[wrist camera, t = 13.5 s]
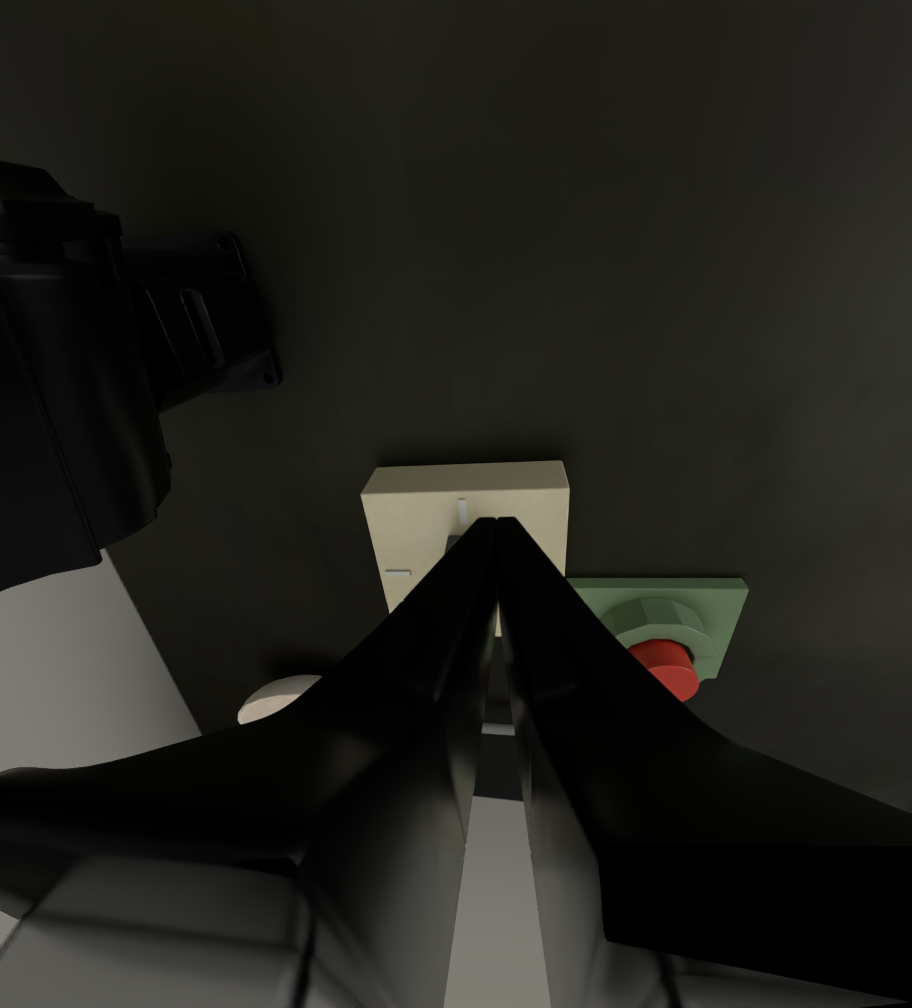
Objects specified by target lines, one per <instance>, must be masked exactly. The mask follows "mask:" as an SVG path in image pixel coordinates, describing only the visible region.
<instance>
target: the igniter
mask: <svg viewBox="0 0 912 1008" xmlns="http://www.w3.org/2000/svg"><path fill="white" fill-rule="evenodd" d="M566 579H567V581H568V582H569V583H570V584H571V586H572V587H573V588H574V589H575V591H576V592H577V593H578V594H579V595H580V597H581V598H582V599H583V600H584V603H586V604H587V605H588V606H589V608H590V609H591V610H592V611H593V613H594V614H595V615H596V616H597V617H598V619H599V620H600V621H601V622H602V623H603V624H604V625H605V627H606V628H607V629H608V630H609V631H610V632H611V633H612V634H613V635H614V637H615V638H616V639H617V640H618V641H619V642H620V643H621V644H622V645H623V646H624V647H625V648H626V649H628V648H629V647H630V646H631V645H634V644H637V643H640V642H643V641H646V640H649V639H671V640H674V641H676V642H678V643H679V644H680V645H682V646H683V647H684V649H685V650H686V653H687V655H688V657H689V659H690V661H691V664H692V666H693V668H694V670H695V672H696V675H697V677H698V679H699V683H700V682H701V681H702V680H704V679H705V678H716V676H717V674H718V671H719V668H720V666H721V663H722V660H723V658H724V655H725V652H726V650H727V647H728V644H729V642H730V639H731V636H732V634H733V631H734V628H735V626H736V623H737V620H738V618H739V615H740V612H741V610H742V607H743V604H744V602H745V599H746V596H747V594H748V591H749V588H748V587H747V586H746V584H745V583H744V582H743V580H742V579H741V578H566Z"/></svg>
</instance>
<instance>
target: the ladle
mask: <svg viewBox="0 0 912 1008" xmlns="http://www.w3.org/2000/svg"><path fill="white" fill-rule="evenodd" d="M321 677H322V676H319V675H296V676H291V677H287V678H283V679H280V680H276V681H274V682H271V683H269V684H267V685H265V686H263V687H262V688H261V689H259V690H258V691H256V692H255V693H254V694H252V695H251V696H250V697H249V698H248V699H247V700H246V702H245V703H244V705H243V706H242V708H241V709H240V711H239V713H238V721H239V722H240V724H245V723H248V722H252V721H255V720H258V719H261V718H264V717H266V716H268V715H271V714H273V713H275V712H277V711H278V710H280V709H282V708H284V707H285V706H287V705H288V704H290V703H291V702H292V701H294V700H295V699H296V698H298V697H299V696H300V695H301V694H303V693H304V692H305V691H306V690H307V689H308V688H309V687H311V686H312V685H313V684H314V683H315V682H316V681H317V680H319V679H320V678H321ZM482 733H488V734H500V735H515V733H514V725H513V724H495V723H483V726H482Z"/></svg>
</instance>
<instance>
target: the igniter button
mask: <svg viewBox="0 0 912 1008" xmlns="http://www.w3.org/2000/svg"><path fill="white" fill-rule="evenodd" d="M627 650H628V651H629V652H630V653H631V654H632V655H633V656H634V657H635V658H636V659H637V660H638V661H640V662H641V663H642V664H643V665H644V666H645V667H646V668H647V669H648V670H649V671H650V672H651V673H652V674H653V675H654V676H655V677H656V678H657V679H658V680H659V681H660V682H661V683H662V684H663V685H664V686H666V687H667V688H668V689H669V690H670V691H671V692H672V693H673V694H674V695H675V696H676V697H677V698H678V699H679V700H680V701H681V702H683V701H685V700H687V699H689V698H690V697H692V696H693V695H694V694H695V693H696V691H697V690H698V687H699V679H698V677H697V675H696V672H695V670H694V668H693V666H692V664H691V661H690V659H689V657H688V655H687V653H686V650H685V649H684V647H683V646H682V645H680V644H679V643H678V642H676V641H674V640H671V639H649V640H646V641H643V642H640V643H637V644H634V645H631V646H630V647H629V648H628V649H627Z"/></svg>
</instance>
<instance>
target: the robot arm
mask: <svg viewBox="0 0 912 1008" xmlns="http://www.w3.org/2000/svg"><path fill="white" fill-rule="evenodd" d="M119 236H123V233H122V228H121V224H120V219H119V215H118V214H114V213H109V212H105V211H100V210H96V209H95V207H94V203H90V202H86V201H82V200H78V199H74V197H73V196H69V195H68V194H67V193H66V192H65V191H64V190H63V189H62V188H61V187H60V185H59V184H58V183H57V182H56V181H55V180H54V179H53V178H52V177H51V175H50V174H49V173H48V172H47V171H46V170H44V169H40V168H35V167H31V166H26V165H21V164H16V163H10V162H5V161H0V591H3V590H5V589H8V588H10V587H13V586H16V585H20V584H23V583H26V582H29V581H32V580H35V579H39V578H42V577H45V576H48V575H51V574H56V573H61V572H66V571H71V570H76V569H81V568H86V567H91V566H95V565H98V564H99V563H101V562H102V556H101V554H100V551H99V550H101V549H103V548H105V547H107V546H109V545H111V544H113V543H115V542H117V541H119V540H122V539H124V538H126V537H128V536H130V535H133V534H135V533H136V532H138V531H139V530H141V529H142V528H143V527H145V526H146V525H148V524H149V523H151V522H152V521H153V520H155V519H156V517H157V511H156V508H157V507H158V506H159V505H160V504H161V503H162V501H163V500H164V498H165V497H166V496H167V494H168V493H169V491H170V490H171V474H170V469H171V468H172V463H171V458H170V454H169V453H166V449H165V444H164V440H163V435H162V430H161V426H160V421H159V417H158V414H160V413H162V412H164V411H166V410H169V409H171V408H173V407H175V406H177V405H179V404H181V403H184V402H186V401H188V400H190V399H192V398H194V397H196V396H199V395H201V394H203V393H212V392H227V391H242V390H257V389H271V388H275V387H276V386H278V385H279V384H280V383H281V380H282V378H281V373H280V370H279V367H278V363H277V360H276V357H275V354H274V350H273V347H272V346H273V344H274V342H273V338H272V335H271V332H270V329H269V325H268V322H267V319H266V315H265V312H264V309H263V306H262V302H261V299H260V296H259V293H258V289H257V286H256V285H255V284H254V283H253V282H252V279H251V276H250V272H249V269H248V266H247V263H246V259H245V256H244V253H243V250H242V246H241V243H240V241H239V239H238V238H237V236H236V235H235V234H233V233H232V232H230V231H222V230H218V231H211V232H203V233H195V234H187V235H179V236H171V237H163V238H155V239H148V240H140V241H132V242H124V243H121V242H120V237H119ZM225 239H227V240H228V241H229V243H230V250H229V251H228V250H227V249H226V248H225V246H224V240H225ZM267 373H269V374H270V375H271V376H272V377H273V381H270V380H269V379H268V377H267ZM498 607H499V620H500V628H501V636H502V643H503V651H504V658H505V666H506V673H507V681H508V688H509V696H510V703H511V710H512V718H513V725H514V733H515V740H516V748H517V755H518V763H519V770H520V778H521V785H522V793H523V800H524V807H525V815H526V823H527V830H528V838H529V845H530V850H531V859H532V867H533V875H534V883H535V890H536V898H537V905H538V912H539V920H540V928H541V935H542V943H543V950H544V958H545V965H546V972H547V980H548V987H549V994H550V1002H551V1008H912V814H911V813H908V812H906V811H903V810H900V809H898V808H895V807H893V806H890V805H888V804H885V803H883V802H880V801H878V800H876V799H873V798H871V797H868V796H866V795H863V794H861V793H858V792H856V791H853V790H851V789H848V788H846V787H843V786H841V785H838V784H836V783H833V782H831V781H829V780H826V779H824V778H821V777H819V776H816V775H814V774H811V773H809V772H806V771H804V770H801V769H799V768H796V767H794V766H791V765H789V764H786V763H784V762H782V761H779V760H777V759H774V758H772V757H769V756H767V755H764V754H762V753H759V752H757V751H754V750H752V749H749V748H747V747H744V746H742V745H740V744H738V743H735V742H733V741H731V740H730V739H728V738H726V737H724V736H723V735H721V734H720V733H718V732H717V731H715V730H714V729H712V728H711V727H710V726H708V725H707V724H706V723H705V722H703V721H702V720H701V719H699V718H698V717H697V716H696V715H695V714H694V713H693V712H692V711H691V710H689V709H688V708H687V707H686V706H685V705H684V704H683V703H682V702H681V701H680V700H679V699H678V698H677V697H676V696H675V695H674V694H673V693H672V692H671V691H670V690H669V689H668V688H667V687H666V686H664V685H663V684H662V683H661V682H660V681H659V680H658V679H657V678H656V677H655V676H654V675H653V674H652V673H651V672H650V671H649V670H648V669H647V668H646V667H645V666H644V665H643V664H642V663H641V662H640V661H638V660H637V659H636V658H635V657H634V656H633V655H632V654H631V653H630V652H629V651H628V650H627V649H626V648H625V647H624V646H623V645H622V644H621V643H620V642H619V641H618V640H617V639H616V638H615V637H614V635H613V634H612V633H611V632H610V631H609V630H608V629H607V628H606V627H605V625H604V624H603V623H602V622H601V621H600V620H599V619H598V617H597V616H596V615H595V614H594V613H593V611H592V610H591V609H590V608H589V606H588V605H587V604H586V603H584V600H583V599H582V598H581V597H580V595H579V594H578V593H577V592H576V591H575V589H574V588H573V587H572V586H571V584H570V583H569V582H568V581H567V579H566V578H565V577H564V576H563V575H562V573H561V572H560V571H559V570H558V568H557V567H556V566H555V565H554V564H553V562H552V561H551V560H550V559H549V557H548V556H547V555H546V554H545V552H544V551H543V550H542V549H541V548H540V546H539V545H538V544H537V543H536V541H535V540H534V539H533V538H532V536H531V535H530V534H529V533H528V532H527V530H526V529H525V528H524V527H523V525H522V524H521V523H520V522H519V521H518V519H517V518H516V517H514V516H510V517H498V518H497V519H496V518H495V517H479V518H477V519H476V520H475V521H474V523H473V524H472V525H471V526H470V527H469V528H468V529H467V530H466V531H465V532H464V534H463V535H462V536H461V537H460V538H459V539H458V540H457V541H456V542H455V543H454V544H453V546H452V547H451V548H450V549H449V550H448V551H447V552H446V553H445V554H444V555H443V557H442V558H441V559H440V560H439V561H438V562H437V563H436V564H435V565H434V566H433V567H432V569H431V570H430V571H429V572H428V573H427V574H426V575H425V576H424V577H423V578H422V579H421V581H420V582H419V583H418V584H417V585H416V586H415V587H414V588H413V589H412V590H411V592H410V593H409V594H408V595H407V596H406V597H405V598H404V599H403V601H402V602H400V603H399V604H398V606H397V607H396V608H395V609H394V610H393V611H392V612H391V613H390V614H389V615H388V616H387V617H386V618H385V619H384V620H383V621H382V622H381V623H380V624H379V626H378V627H377V628H376V629H375V630H374V631H372V632H371V633H370V634H369V635H368V636H367V637H366V638H365V639H364V640H363V641H362V642H360V643H359V644H358V645H357V646H356V647H355V648H354V649H353V650H352V651H351V652H349V653H348V654H347V655H346V656H345V657H344V658H343V659H341V660H340V661H339V662H338V663H337V664H336V665H335V666H333V667H332V668H331V669H330V670H329V671H328V672H327V673H325V674H324V675H323V676H322V677H321V678H320V679H319V680H317V681H316V682H315V683H314V684H313V685H312V686H311V687H309V688H308V689H307V690H306V691H305V692H304V693H303V694H301V695H300V696H299V697H298V698H296V699H295V700H294V701H292V702H291V703H290V704H288V705H287V706H285V707H284V708H282V709H280V710H278V711H277V712H275V713H273V714H271V715H268V716H266V717H264V718H261V719H258V720H255V721H252V722H248V723H245V724H241V725H238V726H234V727H231V728H227V729H224V730H220V731H217V732H214V733H210V734H207V735H203V736H200V737H196V738H193V739H190V740H186V741H183V742H179V743H176V744H172V745H169V746H165V747H162V748H159V749H155V750H151V751H148V752H145V753H142V754H138V755H135V756H131V757H127V758H123V759H119V760H115V761H111V762H107V763H101V764H97V765H92V766H87V767H78V768H69V769H48V768H36V767H19V768H12V769H8V770H5V771H2V772H0V911H2V912H4V913H6V914H8V915H10V916H12V917H14V918H16V919H18V922H17V923H16V924H15V926H14V927H13V928H12V930H11V931H10V933H9V934H8V935H7V937H6V938H5V939H4V941H3V942H2V944H1V945H0V1008H443V1006H444V998H445V991H446V984H447V977H448V970H449V963H450V962H449V961H450V955H451V948H452V941H453V934H454V927H455V920H456V912H457V905H458V897H459V891H460V884H461V877H462V870H463V863H464V855H465V844H466V840H467V833H468V826H469V818H470V811H471V804H472V797H473V790H474V783H475V776H476V769H477V762H478V754H479V747H480V740H481V733H482V726H483V719H484V711H485V704H486V697H487V690H488V683H489V676H490V668H491V661H492V654H493V647H494V640H495V633H496V625H497V617H498Z"/></svg>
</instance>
